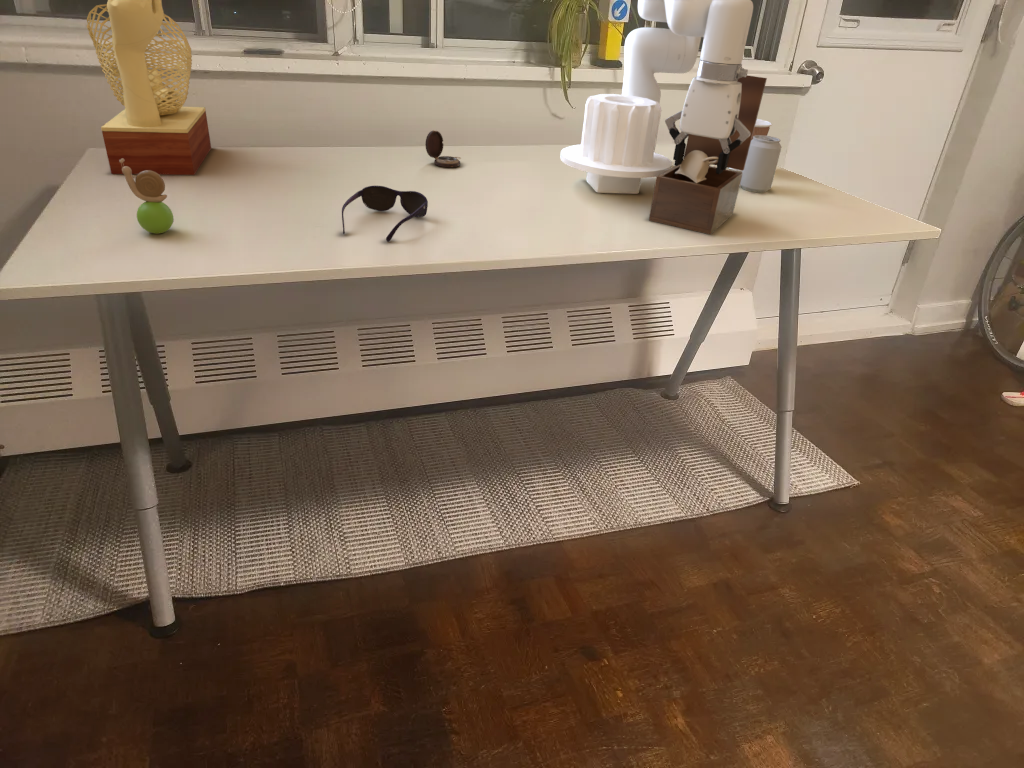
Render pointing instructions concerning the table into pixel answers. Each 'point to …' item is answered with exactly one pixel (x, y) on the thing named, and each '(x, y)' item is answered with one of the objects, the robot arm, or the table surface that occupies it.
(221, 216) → the table surface
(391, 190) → the sunglasses
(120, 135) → the cream lattice sculpture
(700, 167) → the beige rounded piece
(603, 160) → the flanged gear
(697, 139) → the chest lid
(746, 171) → the can
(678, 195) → the chest
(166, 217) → the snail figurine
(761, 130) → the coffee cup
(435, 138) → the compass
